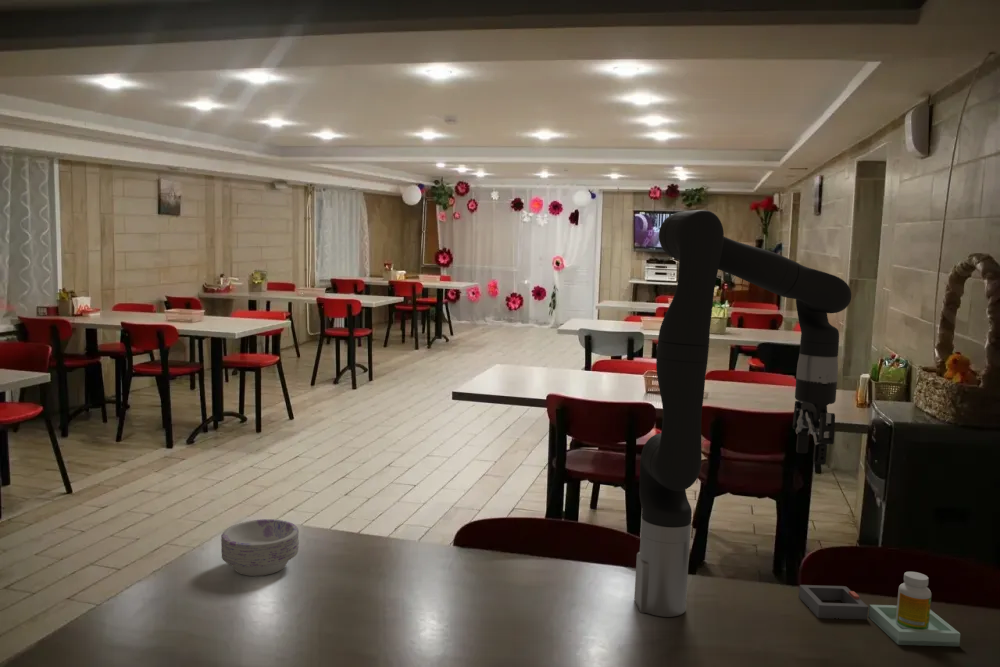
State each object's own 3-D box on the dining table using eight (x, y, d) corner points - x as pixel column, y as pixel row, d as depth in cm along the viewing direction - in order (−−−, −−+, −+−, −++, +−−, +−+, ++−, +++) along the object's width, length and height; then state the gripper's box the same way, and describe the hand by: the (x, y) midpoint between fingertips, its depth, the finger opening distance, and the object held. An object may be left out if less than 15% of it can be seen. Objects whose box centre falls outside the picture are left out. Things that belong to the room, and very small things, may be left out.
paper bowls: (205, 577, 159) (205, 538, 158) (246, 550, 174) (246, 515, 173) (275, 587, 155) (276, 547, 155) (311, 559, 170) (311, 522, 170)
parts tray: (897, 644, 142) (899, 631, 141) (868, 616, 153) (869, 604, 152) (959, 646, 142) (960, 633, 142) (925, 618, 153) (926, 606, 153)
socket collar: (818, 617, 151) (819, 602, 151) (798, 596, 161) (799, 582, 160) (867, 619, 151) (868, 604, 151) (845, 598, 161) (846, 583, 160)
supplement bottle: (932, 635, 144) (937, 583, 143) (900, 631, 145) (904, 579, 144) (922, 622, 149) (927, 571, 149) (891, 618, 150) (896, 568, 150)
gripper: (784, 371, 165) (778, 449, 166) (812, 382, 150) (805, 467, 152) (820, 373, 165) (814, 450, 166) (851, 384, 151) (844, 468, 152)
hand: (810, 458), depth 159 cm, fingers open, 8 cm apart
